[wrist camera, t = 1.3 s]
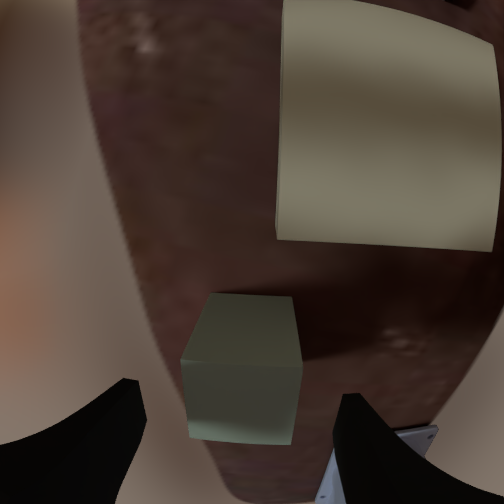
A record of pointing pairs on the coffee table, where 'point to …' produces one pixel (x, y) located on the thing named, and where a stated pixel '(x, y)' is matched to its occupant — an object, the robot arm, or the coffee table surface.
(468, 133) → the beige flat square block
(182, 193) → the coffee table surface
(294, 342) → the sage block
